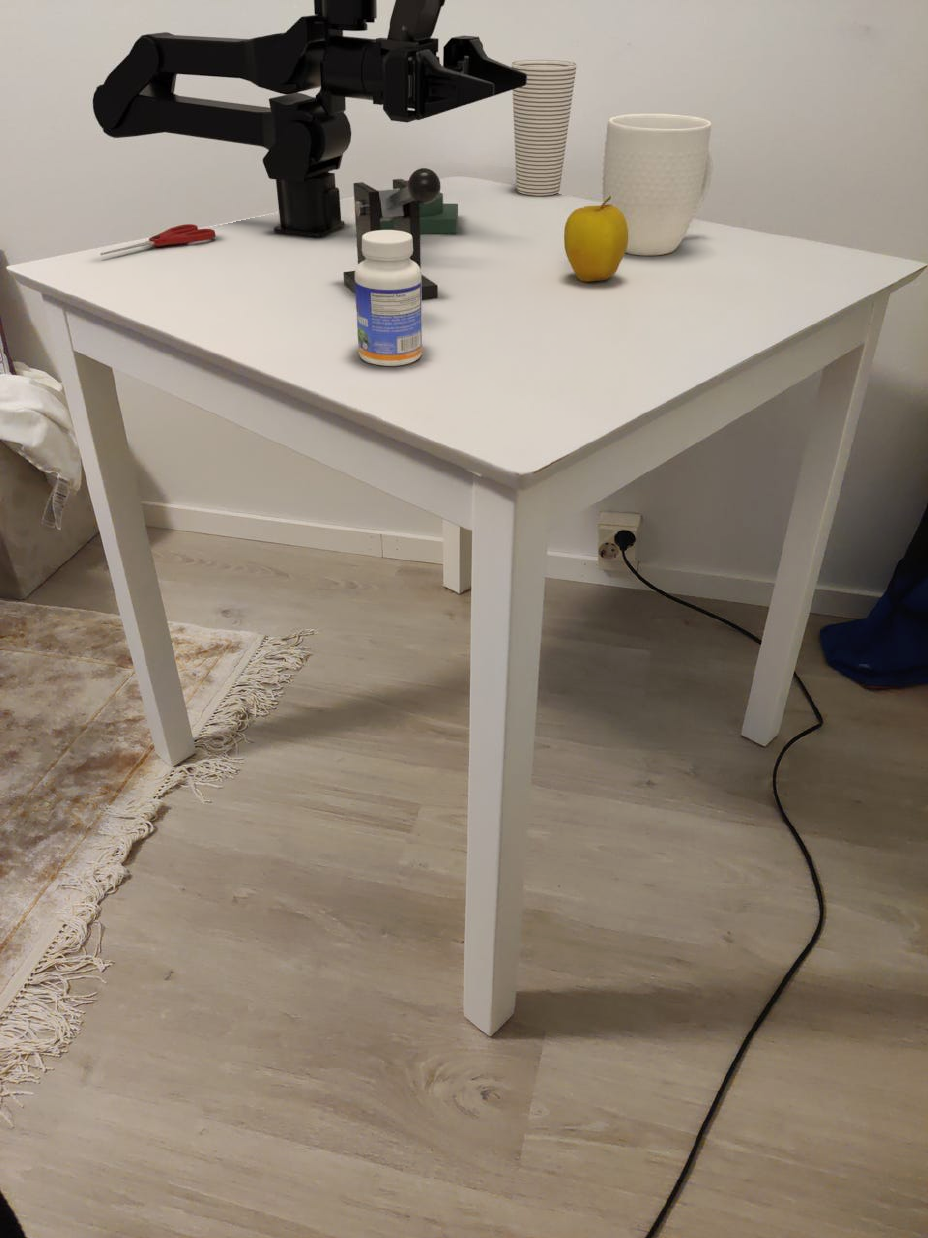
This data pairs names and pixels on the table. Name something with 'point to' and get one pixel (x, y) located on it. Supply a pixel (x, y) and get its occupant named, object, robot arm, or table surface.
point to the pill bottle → (388, 299)
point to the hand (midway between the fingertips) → (510, 84)
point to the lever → (409, 194)
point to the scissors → (174, 237)
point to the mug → (656, 176)
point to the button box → (433, 218)
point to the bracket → (370, 221)
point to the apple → (595, 241)
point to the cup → (542, 124)
